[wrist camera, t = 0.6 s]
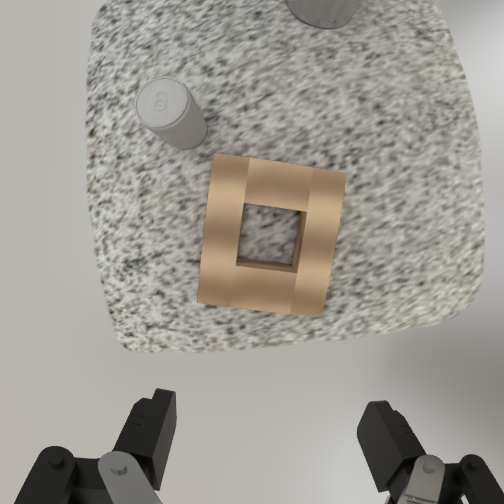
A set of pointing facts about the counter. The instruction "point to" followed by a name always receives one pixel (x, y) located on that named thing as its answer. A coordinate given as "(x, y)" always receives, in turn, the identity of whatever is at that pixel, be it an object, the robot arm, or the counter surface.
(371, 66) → the counter surface
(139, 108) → the beverage can
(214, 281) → the socket
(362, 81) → the counter surface
